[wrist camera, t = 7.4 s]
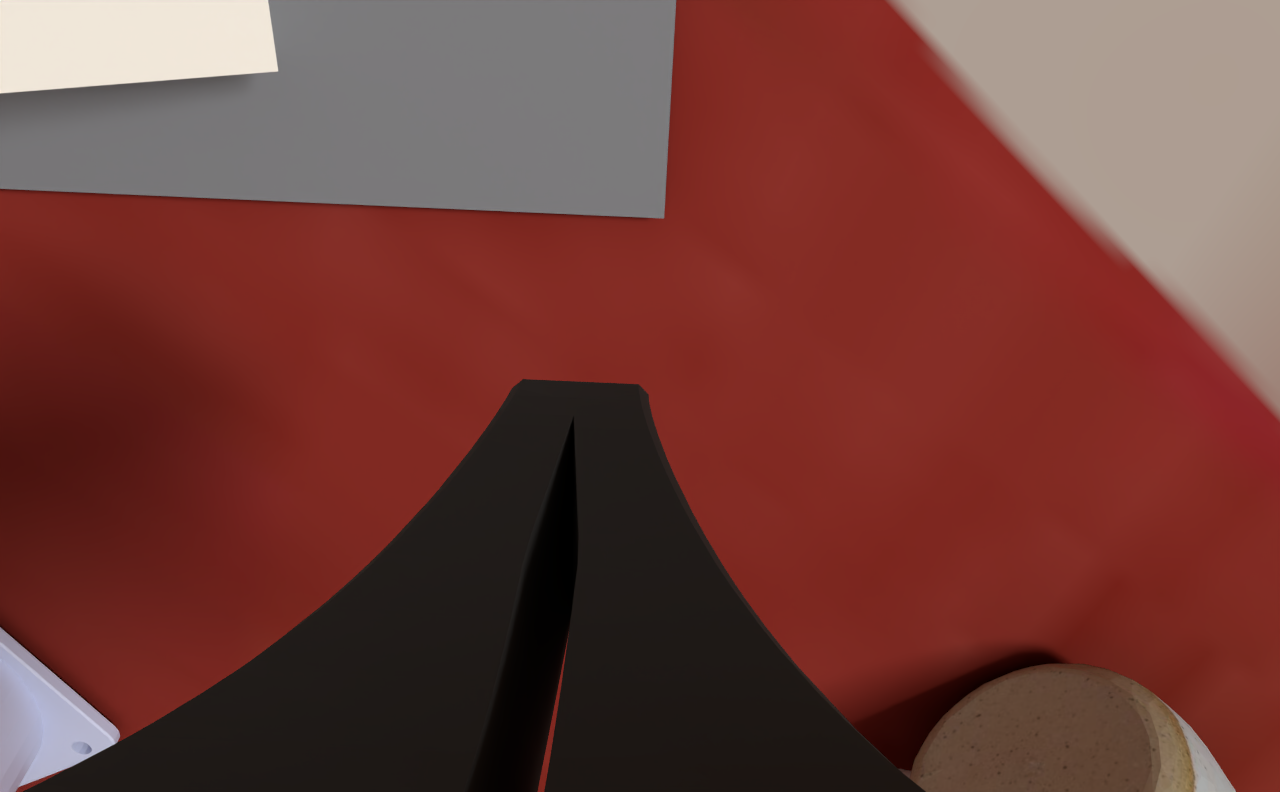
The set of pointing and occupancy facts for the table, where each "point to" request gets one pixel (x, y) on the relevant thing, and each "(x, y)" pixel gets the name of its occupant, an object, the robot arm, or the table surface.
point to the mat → (385, 113)
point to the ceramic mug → (1064, 738)
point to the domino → (130, 41)
